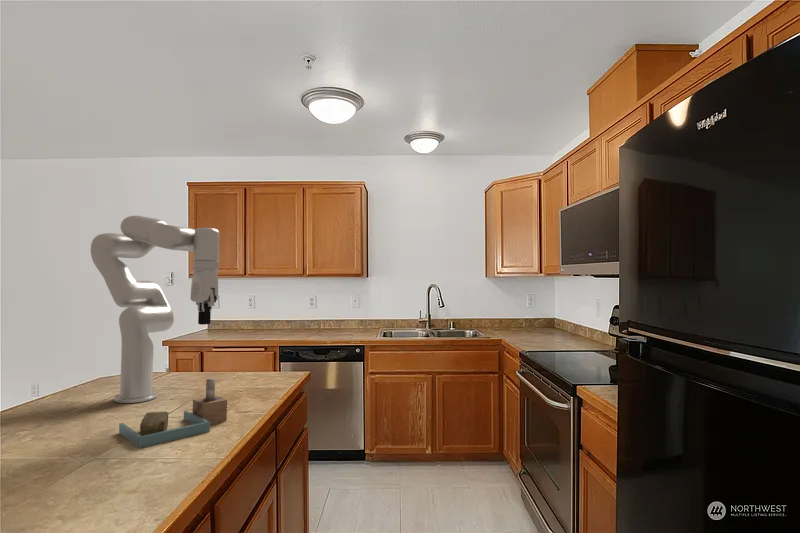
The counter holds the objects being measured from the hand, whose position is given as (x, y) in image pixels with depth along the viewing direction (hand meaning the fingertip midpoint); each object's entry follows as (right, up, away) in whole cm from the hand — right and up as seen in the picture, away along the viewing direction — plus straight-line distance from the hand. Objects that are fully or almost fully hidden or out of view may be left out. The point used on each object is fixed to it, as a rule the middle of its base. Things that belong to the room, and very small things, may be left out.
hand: (204, 324), depth 143 cm
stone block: (-3, -27, -24) cm, 36 cm away
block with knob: (+6, -27, -11) cm, 30 cm away
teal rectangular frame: (-1, -26, -22) cm, 34 cm away
